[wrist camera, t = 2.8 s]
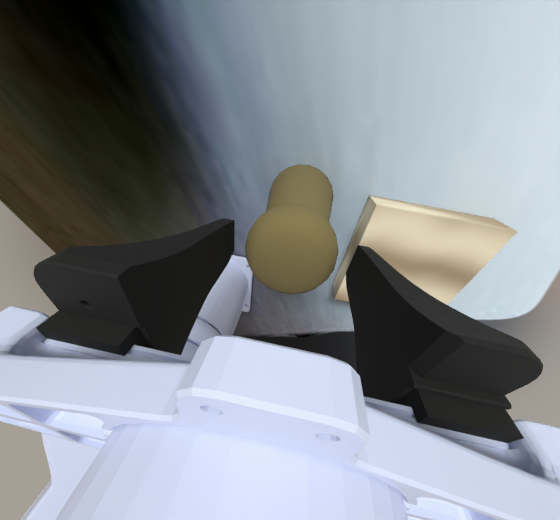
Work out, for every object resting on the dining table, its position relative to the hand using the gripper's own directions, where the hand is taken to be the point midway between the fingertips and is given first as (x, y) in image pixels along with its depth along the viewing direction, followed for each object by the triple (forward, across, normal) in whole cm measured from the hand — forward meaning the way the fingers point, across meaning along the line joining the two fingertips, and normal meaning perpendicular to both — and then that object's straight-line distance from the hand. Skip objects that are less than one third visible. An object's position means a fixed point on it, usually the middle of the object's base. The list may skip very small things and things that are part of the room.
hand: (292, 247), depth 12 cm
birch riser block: (+9, -12, +4) cm, 15 cm away
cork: (+9, 0, 0) cm, 9 cm away
